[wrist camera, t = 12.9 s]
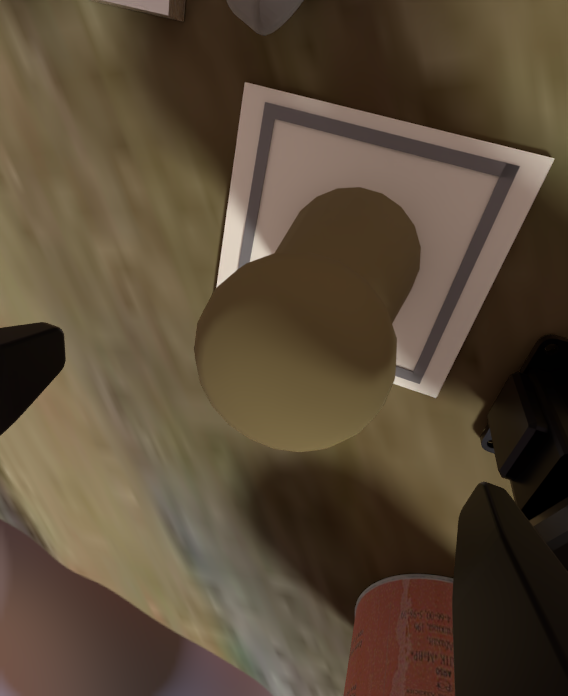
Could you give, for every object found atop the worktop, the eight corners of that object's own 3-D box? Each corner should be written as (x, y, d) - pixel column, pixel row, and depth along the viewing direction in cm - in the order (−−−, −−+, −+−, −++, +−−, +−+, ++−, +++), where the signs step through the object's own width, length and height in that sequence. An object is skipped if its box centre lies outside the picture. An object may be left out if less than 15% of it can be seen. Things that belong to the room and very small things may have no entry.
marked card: (552, 158, 16) (555, 158, 15) (435, 394, 21) (436, 399, 21) (247, 82, 17) (243, 81, 17) (214, 319, 23) (210, 322, 23)
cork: (289, 179, 18) (144, 237, 9) (436, 195, 17) (445, 283, 8) (280, 309, 21) (164, 456, 12) (405, 332, 20) (384, 517, 10)
